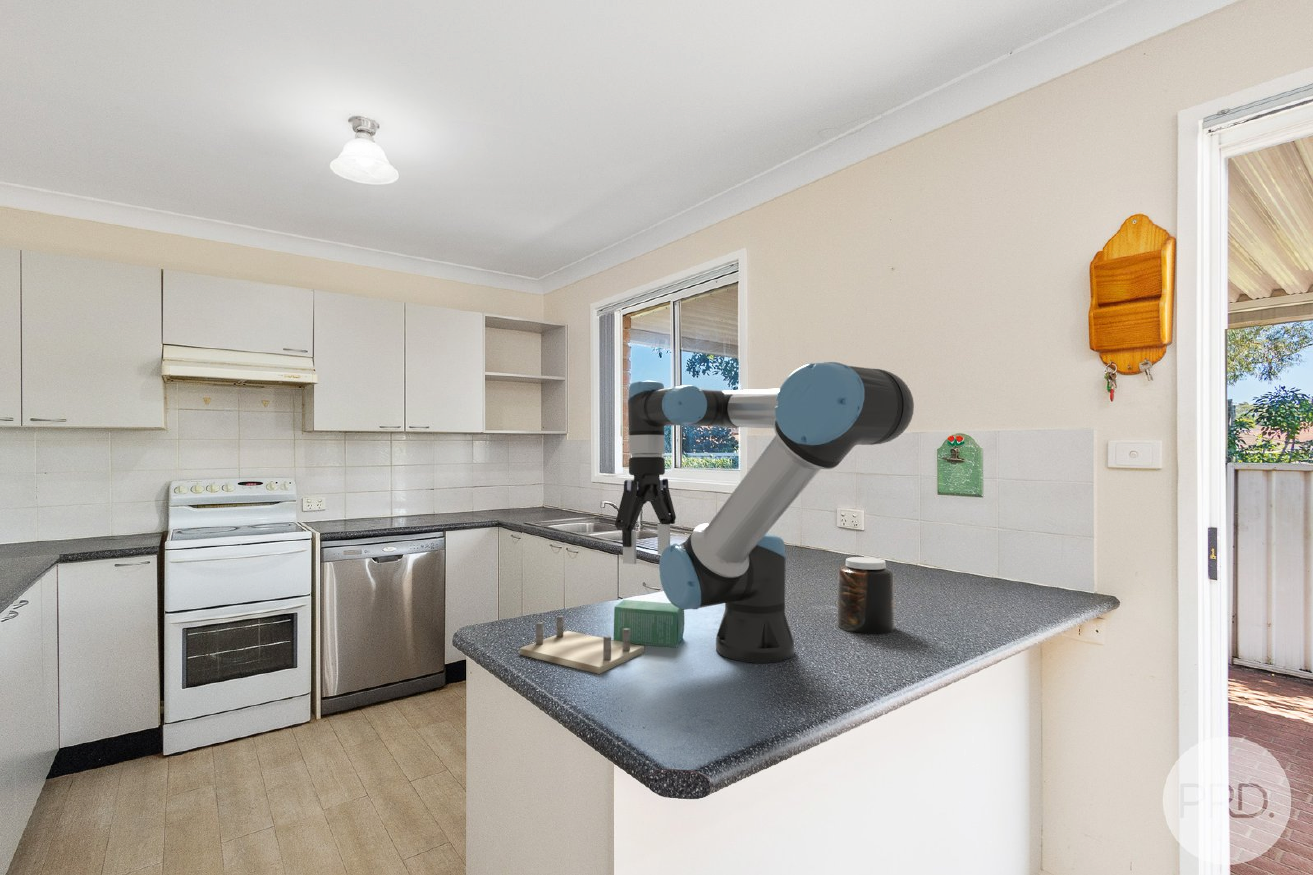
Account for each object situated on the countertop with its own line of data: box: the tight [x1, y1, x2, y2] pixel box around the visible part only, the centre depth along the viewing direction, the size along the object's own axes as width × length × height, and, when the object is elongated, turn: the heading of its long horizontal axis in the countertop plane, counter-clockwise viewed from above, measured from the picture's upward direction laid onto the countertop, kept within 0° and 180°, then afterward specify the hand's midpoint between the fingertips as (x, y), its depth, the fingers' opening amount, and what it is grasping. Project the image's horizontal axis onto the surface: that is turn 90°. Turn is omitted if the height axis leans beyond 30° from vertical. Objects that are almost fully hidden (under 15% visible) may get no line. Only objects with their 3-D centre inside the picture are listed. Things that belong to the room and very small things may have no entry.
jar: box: [837, 556, 895, 635], centre depth 141 cm, size 12×12×15 cm
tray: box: [519, 615, 645, 675], centre depth 122 cm, size 19×14×5 cm
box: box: [613, 599, 685, 648], centre depth 131 cm, size 7×14×8 cm, turn 78°
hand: (647, 559), depth 131 cm, fingers open, 13 cm apart
